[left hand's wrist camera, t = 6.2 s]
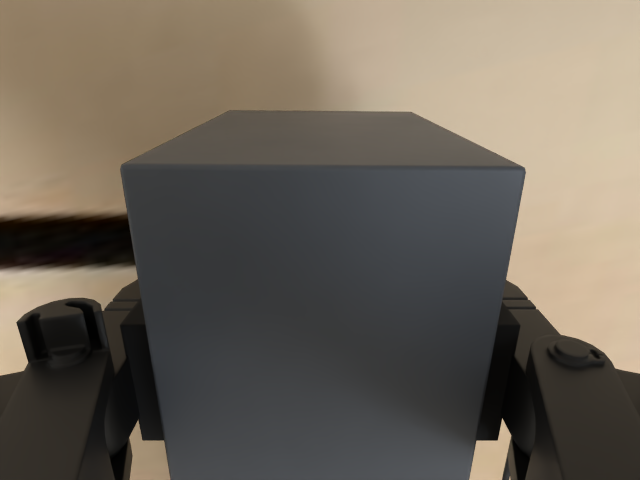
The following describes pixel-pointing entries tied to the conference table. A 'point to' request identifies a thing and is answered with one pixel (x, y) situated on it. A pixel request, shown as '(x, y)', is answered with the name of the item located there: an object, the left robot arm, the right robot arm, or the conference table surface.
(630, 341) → the conference table surface
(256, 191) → the post
